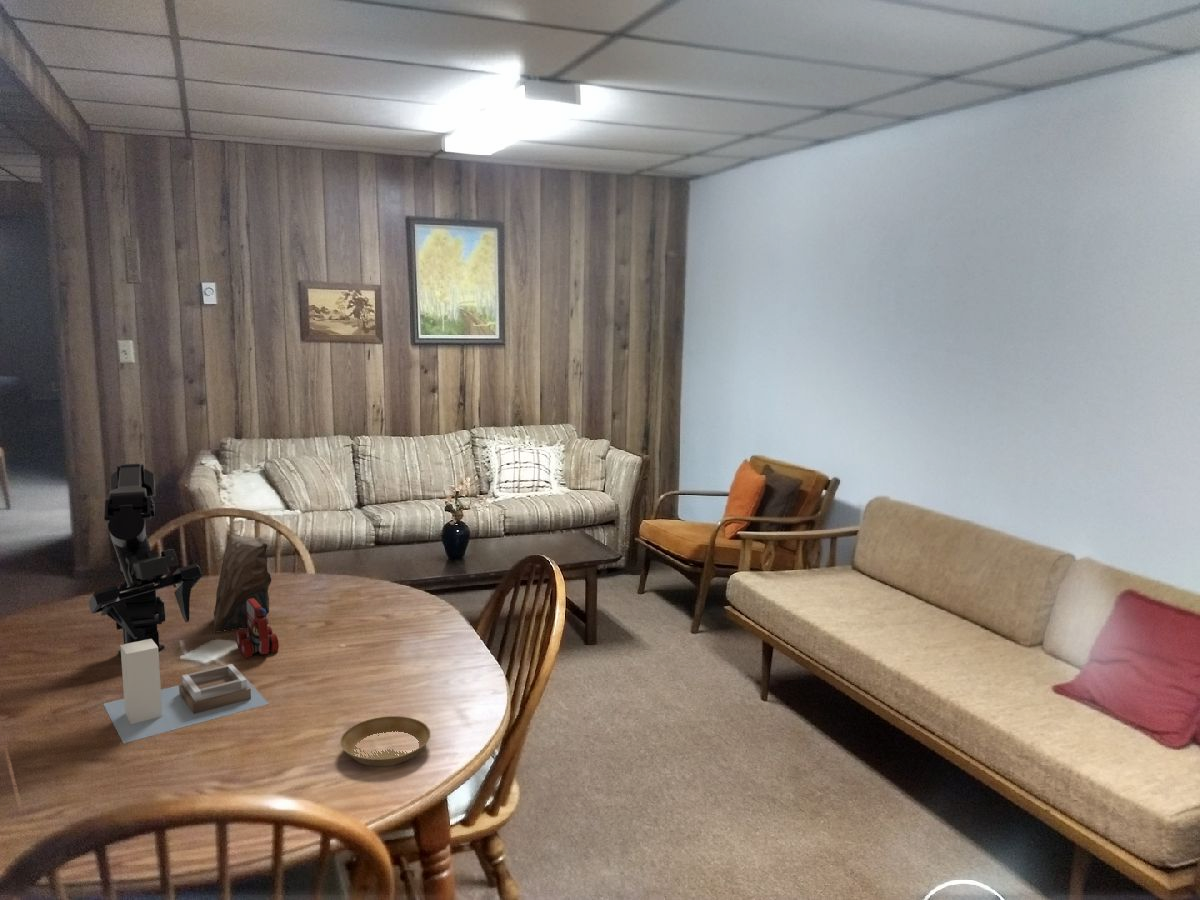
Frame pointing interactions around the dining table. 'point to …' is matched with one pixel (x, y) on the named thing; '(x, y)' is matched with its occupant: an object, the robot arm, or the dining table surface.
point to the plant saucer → (384, 725)
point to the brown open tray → (214, 688)
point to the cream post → (141, 680)
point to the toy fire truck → (256, 632)
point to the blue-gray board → (173, 714)
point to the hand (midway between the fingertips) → (162, 629)
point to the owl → (241, 582)
